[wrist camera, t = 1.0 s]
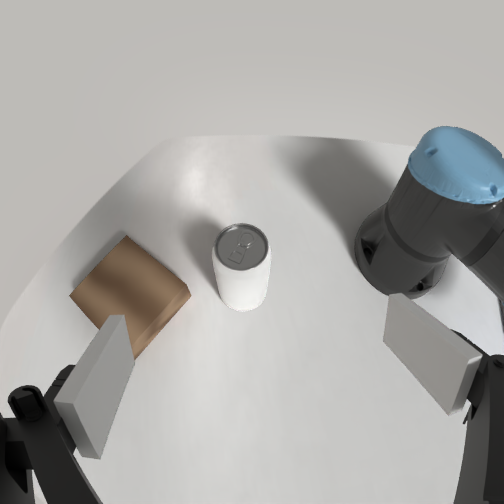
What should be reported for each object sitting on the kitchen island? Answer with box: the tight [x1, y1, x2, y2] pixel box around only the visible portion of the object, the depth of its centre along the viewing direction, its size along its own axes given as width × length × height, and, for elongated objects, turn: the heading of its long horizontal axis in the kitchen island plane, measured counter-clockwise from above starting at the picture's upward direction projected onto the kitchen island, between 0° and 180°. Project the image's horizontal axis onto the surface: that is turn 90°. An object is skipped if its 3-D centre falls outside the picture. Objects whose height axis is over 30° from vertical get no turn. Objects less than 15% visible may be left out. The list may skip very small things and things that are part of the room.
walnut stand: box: [69, 235, 191, 361], centre depth 40 cm, size 12×12×4 cm
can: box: [212, 223, 271, 311], centre depth 38 cm, size 6×6×12 cm
